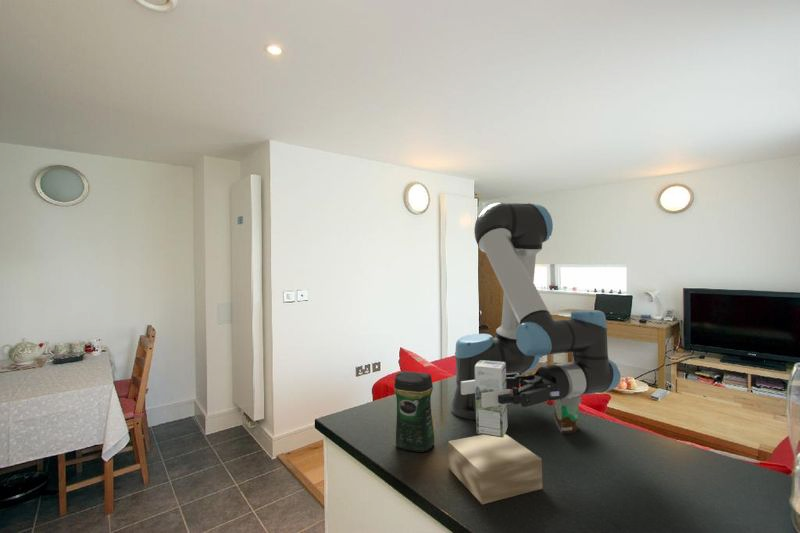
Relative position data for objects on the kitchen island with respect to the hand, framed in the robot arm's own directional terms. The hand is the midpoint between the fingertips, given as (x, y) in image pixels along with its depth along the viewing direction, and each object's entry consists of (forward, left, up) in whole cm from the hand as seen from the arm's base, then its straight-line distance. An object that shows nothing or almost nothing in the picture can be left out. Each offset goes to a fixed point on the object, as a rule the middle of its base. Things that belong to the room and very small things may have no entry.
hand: (471, 394), depth 79 cm
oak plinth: (0, +5, -19) cm, 19 cm away
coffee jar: (-20, -5, -19) cm, 28 cm away
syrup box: (0, +5, -9) cm, 10 cm away
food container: (-14, +39, -19) cm, 45 cm away
